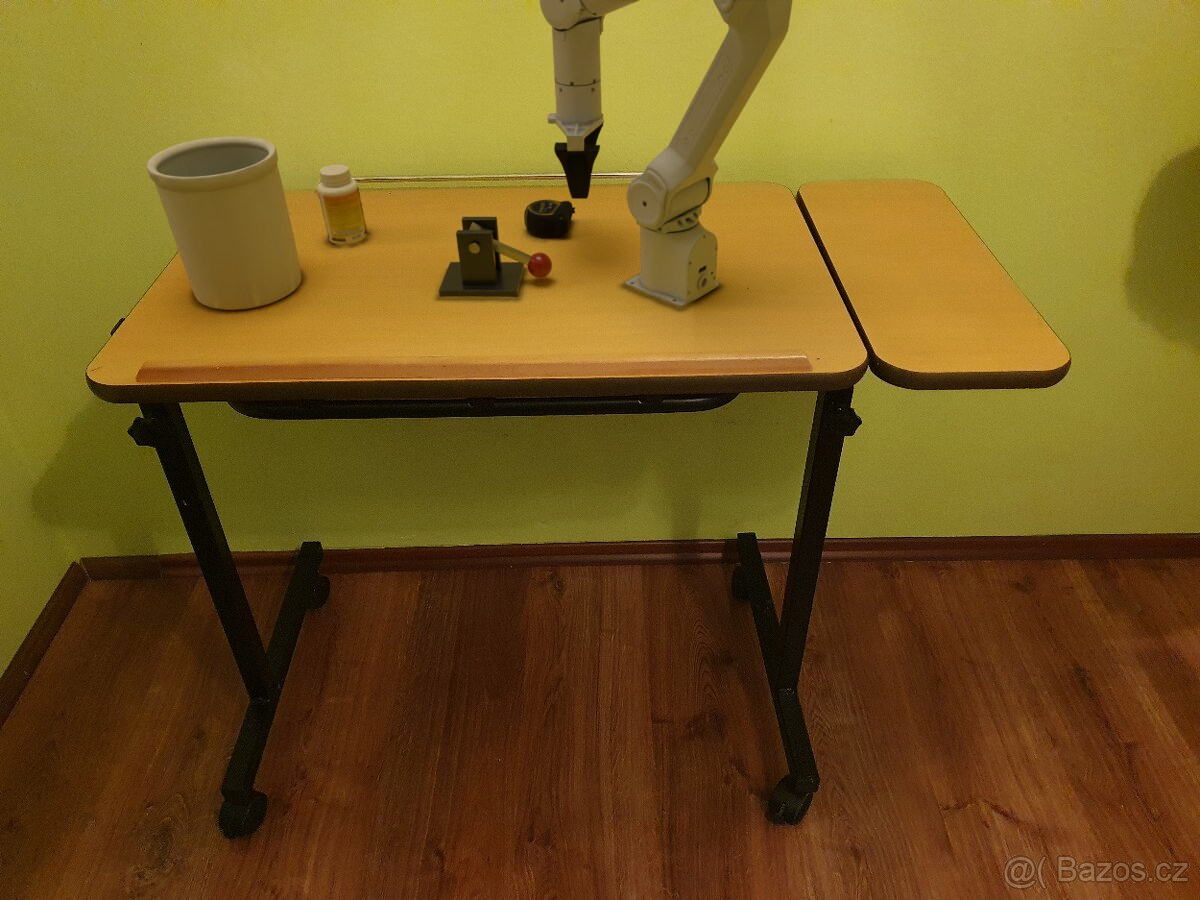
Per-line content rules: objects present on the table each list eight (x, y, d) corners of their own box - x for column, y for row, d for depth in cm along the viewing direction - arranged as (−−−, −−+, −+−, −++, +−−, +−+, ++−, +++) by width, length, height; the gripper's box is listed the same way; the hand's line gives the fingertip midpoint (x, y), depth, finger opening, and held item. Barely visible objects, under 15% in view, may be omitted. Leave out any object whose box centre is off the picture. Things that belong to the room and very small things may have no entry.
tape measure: (568, 243, 127) (567, 217, 125) (520, 240, 128) (518, 216, 126) (575, 222, 133) (574, 198, 130) (530, 220, 134) (528, 196, 131)
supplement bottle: (375, 239, 130) (361, 169, 124) (339, 250, 127) (324, 180, 121) (357, 227, 133) (343, 158, 127) (322, 237, 131) (306, 168, 124)
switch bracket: (524, 270, 121) (519, 211, 116) (517, 299, 115) (512, 238, 110) (451, 269, 122) (443, 211, 117) (439, 298, 115) (430, 238, 110)
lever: (547, 274, 119) (557, 254, 117) (545, 286, 116) (554, 265, 114) (465, 238, 116) (474, 217, 114) (461, 249, 114) (469, 228, 112)
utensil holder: (213, 261, 126) (173, 135, 115) (319, 259, 125) (289, 132, 114) (173, 314, 114) (124, 179, 103) (290, 311, 114) (254, 176, 103)
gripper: (550, 63, 117) (556, 165, 125) (539, 98, 105) (546, 208, 114) (605, 62, 116) (607, 165, 125) (599, 97, 105) (602, 208, 113)
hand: (581, 186), depth 119 cm, fingers open, 7 cm apart
